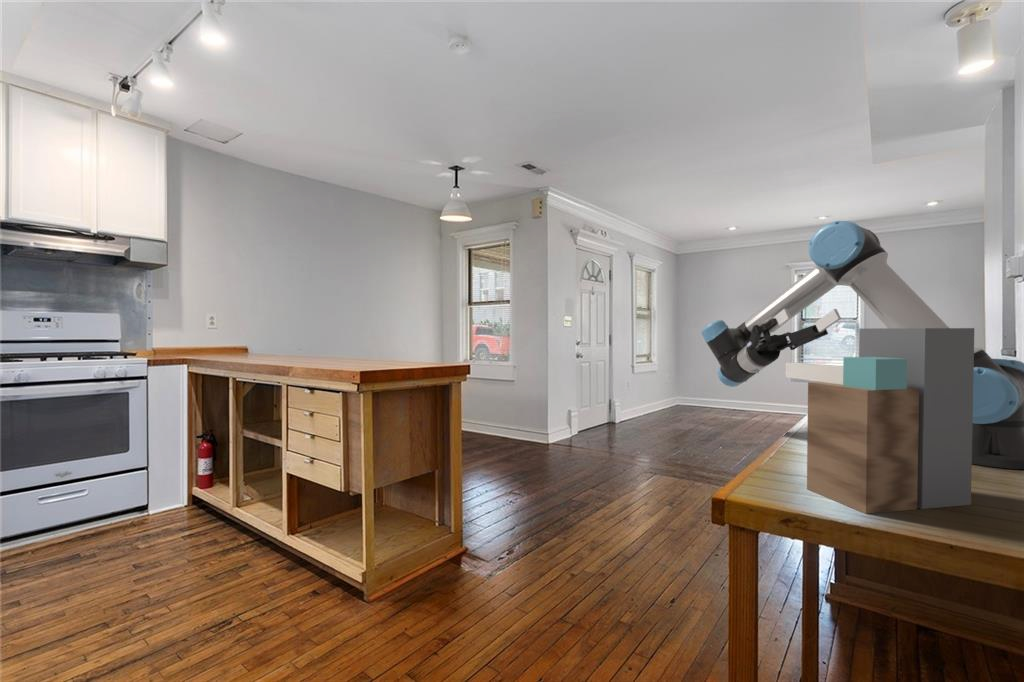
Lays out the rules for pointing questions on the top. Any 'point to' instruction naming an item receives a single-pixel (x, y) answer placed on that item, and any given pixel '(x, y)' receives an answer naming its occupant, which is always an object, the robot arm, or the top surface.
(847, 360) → the bar
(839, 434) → the tall wooden pillar
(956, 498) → the tower
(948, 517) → the top surface
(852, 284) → the robot arm
